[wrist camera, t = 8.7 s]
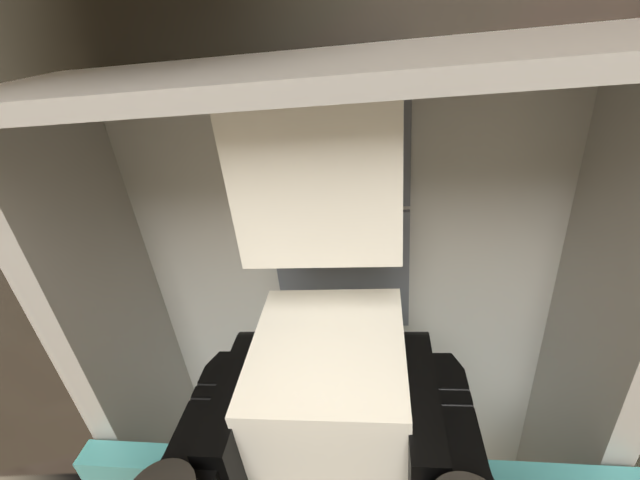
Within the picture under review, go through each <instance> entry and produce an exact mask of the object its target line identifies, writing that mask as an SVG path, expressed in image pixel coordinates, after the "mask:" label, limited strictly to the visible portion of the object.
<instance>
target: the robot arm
mask: <svg viewBox="0 0 640 480" xmlns="http://www.w3.org/2000/svg"><path fill="white" fill-rule="evenodd" d="M254 333H255V332H239V333H238V334H237V336H236V339H235V341H234V343H233V346H232V348H231V351H219V352H218V353H217V354H216V355H215V356H214V357H213V358H212V359H211V360H210V361H209V362H208V363H207V364H206V365H205V367H204V369H203V371H202V374H201V376H200V378H199V380H198V382H197V386H195V388H194V391H193V393H192V395H191V399H190V401H188V403H187V406H186V408H185V410H184V412H183V414H182V416H181V418H180V420H179V423H178V425H177V427H176V429H175V431H174V433H173V435H172V437H171V440H170V442H169V444H168V446H167V448H166V450H165V452H164V454H163V456H162V458H161V460H160V461H157V462H155V463H153V464H151V465H149V466H148V467H147V468H145V469H144V470H143V471H141V472H140V473H139V474H138V475H137V476H136V477H135V478H134V480H248V478H247V475H246V472H245V469H244V465H243V462H242V459H241V456H240V453H239V450H238V447H237V444H236V441H235V437H234V434H233V431H232V429H228V427H227V424H226V421H225V416H226V413H227V410H228V407H229V405H230V402H231V399H232V396H233V393H234V390H235V387H236V385H237V382H238V379H239V376H240V373H241V370H242V367H243V365H244V362H245V359H246V356H247V353H248V350H249V347H250V345H251V342H252V339H253V336H254ZM404 339H405V350H406V360H407V371H408V381H409V392H410V403H411V413H412V435H408V480H494V478H493V476H492V473H491V470H490V466H489V463H488V459H487V455H486V451H485V447H484V443H483V439H482V435H481V431H480V427H479V423H478V420H477V416H476V412H475V408H474V406H473V400H472V396H471V392H470V390H469V384H468V380H467V376H466V373H465V369H464V368H463V367H462V365H461V364H460V363H459V362H458V360H457V359H456V358H455V357H454V355H453V354H452V353H432V347H431V341H430V336H429V332H404Z"/></svg>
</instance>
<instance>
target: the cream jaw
mask: <svg viewBox="0 0 640 480" xmlns="http://www.w3.org/2000/svg"><path fill="white" fill-rule="evenodd" d="M225 421H226V424H227V427H228V429H232V431H233V434H234V437H235V441H236V444H237V447H238V450H239V453H240V456H241V459H242V462H243V465H244V469H245V472H246V475H247V478H248V480H408V435H412V413H411V403H410V392H409V381H408V371H407V360H406V350H405V339H404V328H403V318H402V307H401V297H400V288H399V289H339V290H278V291H269V293H268V296H267V299H266V302H265V305H264V308H263V310H262V313H261V316H260V319H259V322H258V325H257V328H256V330H255V333H254V336H253V339H252V342H251V345H250V347H249V350H248V353H247V356H246V359H245V362H244V365H243V367H242V370H241V373H240V376H239V379H238V382H237V385H236V387H235V390H234V393H233V396H232V399H231V402H230V405H229V407H228V410H227V413H226V416H225Z"/></svg>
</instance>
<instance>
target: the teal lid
mask: <svg viewBox="0 0 640 480" xmlns="http://www.w3.org/2000/svg"><path fill="white" fill-rule="evenodd" d="M168 444H169V443H150V442H131V441H111V440H91V439H89V440H88V442H87V443H86V445H85V446H84V448H83V449H82V451H81V452H80V454H79V455H78V457H77V458H76V460H75V461H74V463H73V464H72V465H73V466H74V468H75V470H76V471H77V473H78V474H79V476H80V478H81V479H82V480H134V478H135V477H136V476H137V475H138V474H139V473H140V472H141V471H143V470H144V469H145V468H147V467H148V466H149V465H151V464H153V463H155V462H157V461H160V460H161V458H162V456H163V454H164V452H165V450H166V448H167V446H168ZM488 463H489V466H490V470H491V473H492V476H493V478H494V480H640V467H625V466H605V465H585V464H566V463H546V462H526V461H506V460H488Z"/></svg>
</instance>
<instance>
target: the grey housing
mask: <svg viewBox="0 0 640 480" xmlns="http://www.w3.org/2000/svg"><path fill="white" fill-rule="evenodd" d="M0 268H1V270H2V272H3V274H4V275H5V277H6V279H7V281H8V283H9V285H10V286H11V288H12V290H13V292H14V294H15V296H16V297H17V299H18V301H19V303H20V305H21V306H22V308H23V310H24V312H25V314H26V316H27V317H28V319H29V321H30V323H31V325H32V327H33V328H34V330H35V332H36V334H37V336H38V337H39V339H40V341H41V343H42V345H43V347H44V348H45V350H46V352H47V354H48V356H49V358H50V359H51V361H52V363H53V365H54V367H55V368H56V370H57V372H58V374H59V376H60V378H61V379H62V381H63V383H64V385H65V387H66V389H67V390H68V392H69V394H70V396H71V398H72V399H73V401H74V403H75V405H76V407H77V409H78V410H79V412H80V414H81V416H82V418H83V420H84V421H85V423H86V425H87V427H88V429H89V430H90V432H91V434H92V436H93V438H94V440H111V441H131V442H150V443H169V442H170V440H171V437H172V435H173V433H174V431H175V429H176V427H177V425H178V423H179V420H180V418H181V416H182V414H183V412H184V410H185V408H186V406H187V403H188V401H190V399H191V395H192V393H193V391H194V388H195V386H197V382H198V380H199V378H200V376H201V374H202V371H203V369H204V367H205V365H206V364H207V363H208V362H209V361H210V360H211V359H212V358H213V357H214V356H215V355H216V354H217V353H218V352H219V351H231V348H232V346H233V343H234V341H235V339H236V336H237V334H238V333H239V332H255V330H256V328H257V325H258V322H259V319H260V316H261V313H262V310H263V308H264V305H265V302H266V299H267V296H268V293H269V291H278V290H339V289H399V288H400V297H401V307H402V318H403V328H404V332H429V336H430V341H431V347H432V353H452V354H453V355H454V357H455V358H456V359H457V360H458V362H459V363H460V364H461V365H462V367H463V368H464V369H465V373H466V376H467V380H468V384H469V390H470V392H471V396H472V400H473V406H474V408H475V412H476V416H477V420H478V423H479V427H480V431H481V435H482V439H483V443H484V447H485V451H486V455H487V459H488V460H506V461H526V462H546V463H566V464H585V465H605V466H625V467H634V466H635V464H636V461H637V459H638V457H639V455H640V18H633V19H622V20H612V21H601V22H590V23H579V24H568V25H557V26H546V27H535V28H524V29H513V30H502V31H491V32H480V33H469V34H458V35H448V36H437V37H426V38H415V39H404V40H393V41H382V42H371V43H360V44H349V45H338V46H327V47H316V48H305V49H294V50H283V51H273V52H262V53H251V54H240V55H229V56H218V57H207V58H196V59H185V60H174V61H163V62H152V63H141V64H130V65H119V66H108V67H98V68H87V69H76V70H65V71H57V72H52V73H47V74H43V75H38V76H33V77H28V78H23V79H18V80H14V81H9V82H4V83H0Z"/></svg>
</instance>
